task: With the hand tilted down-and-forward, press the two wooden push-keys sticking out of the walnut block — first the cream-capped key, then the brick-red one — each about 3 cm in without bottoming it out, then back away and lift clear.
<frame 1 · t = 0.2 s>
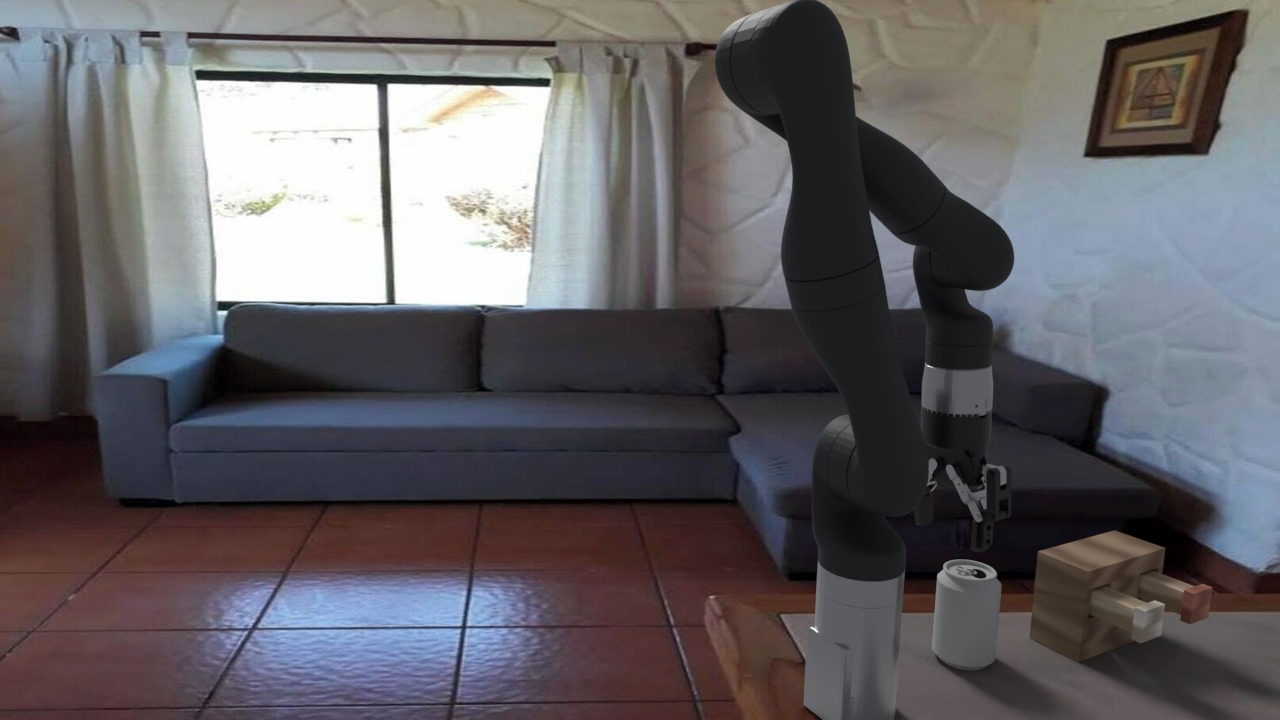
hand: (951, 536, 101), 18 cm above the table, tool pointing down, fingers open, 8 cm apart
can: (962, 659, 109), on the table
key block: (1092, 635, 115), on the table
key cream: (1115, 607, 106), point 8 cm above the table, slide at 0.0 cm
key red: (1163, 591, 111), point 7 cm above the table, slide at 0.0 cm
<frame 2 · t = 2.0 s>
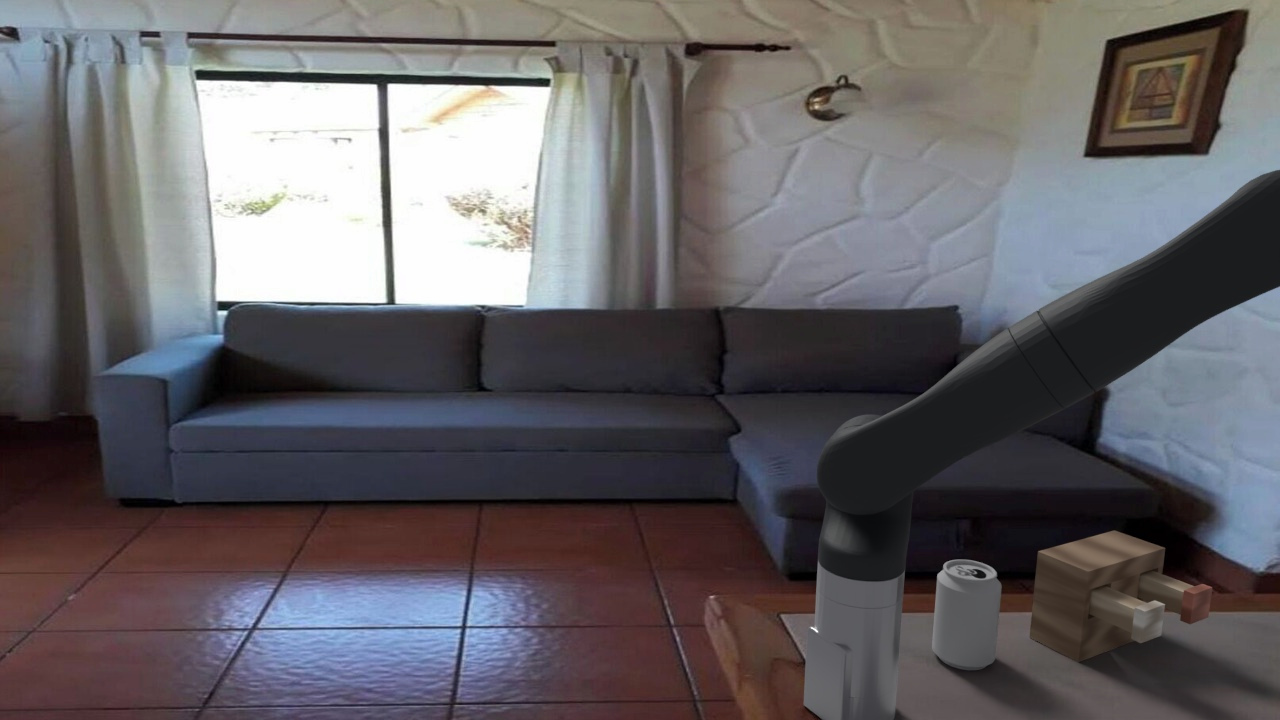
nothing on the table moved.
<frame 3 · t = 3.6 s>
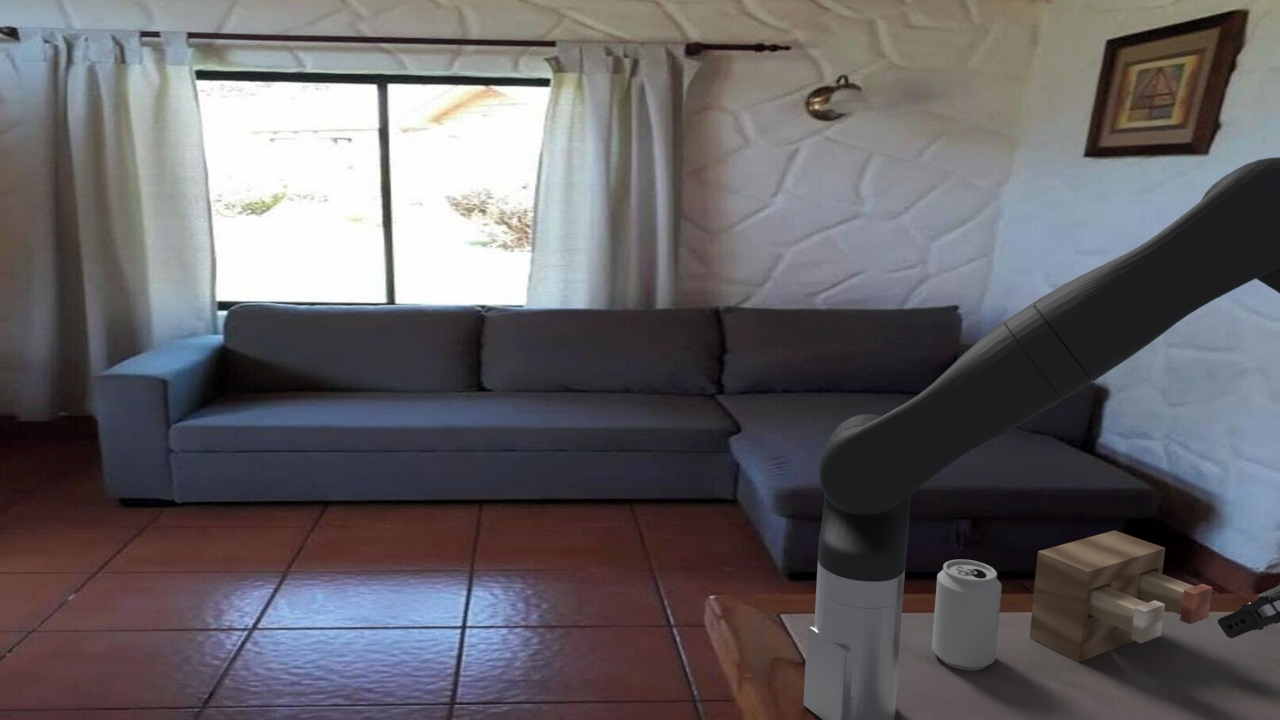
hand: (1226, 628, 95), 11 cm above the table, tool tilted 45°, fingers closed
nothing on the table moved.
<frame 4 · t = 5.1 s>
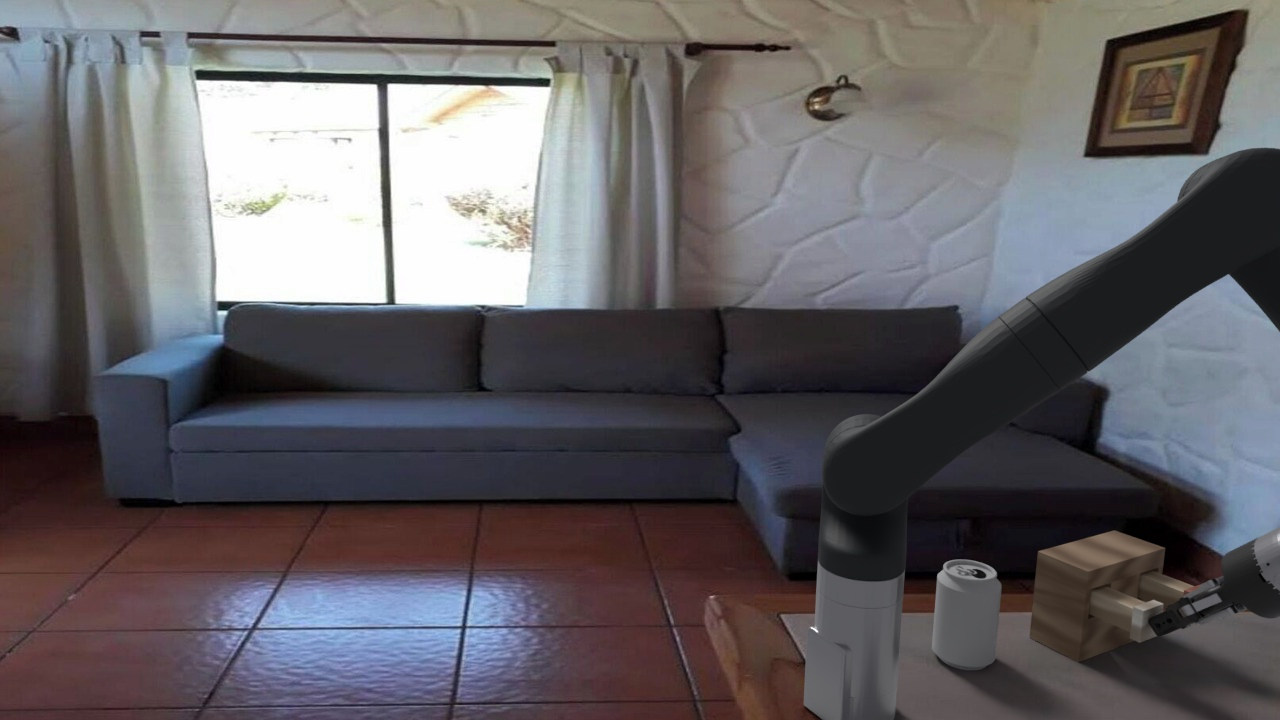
hand: (1155, 627, 102), 7 cm above the table, tool tilted 45°, fingers closed
key cream: (1114, 607, 106), point 8 cm above the table, slide at 0.2 cm, touching gripper
everything else where it was.
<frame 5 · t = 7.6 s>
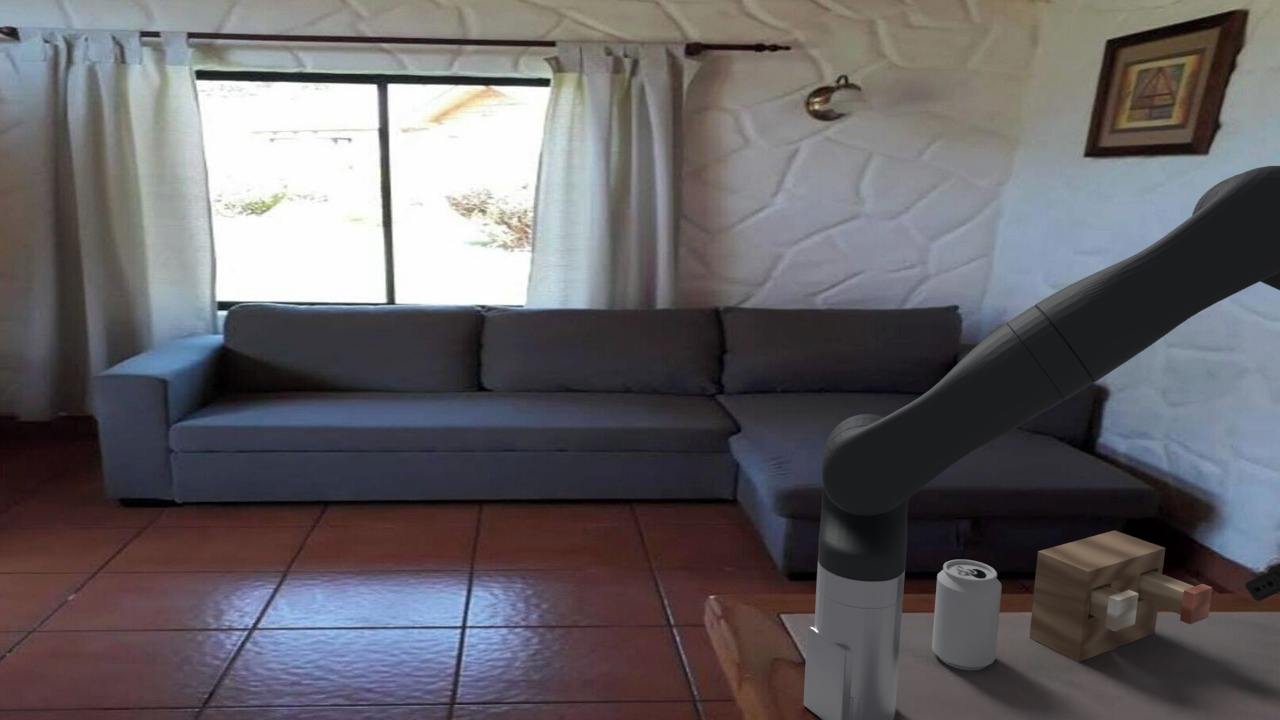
hand: (1253, 591, 97), 13 cm above the table, tool tilted 45°, fingers closed
key cream: (1091, 597, 109), point 7 cm above the table, slide at 3.2 cm
everything else where it was.
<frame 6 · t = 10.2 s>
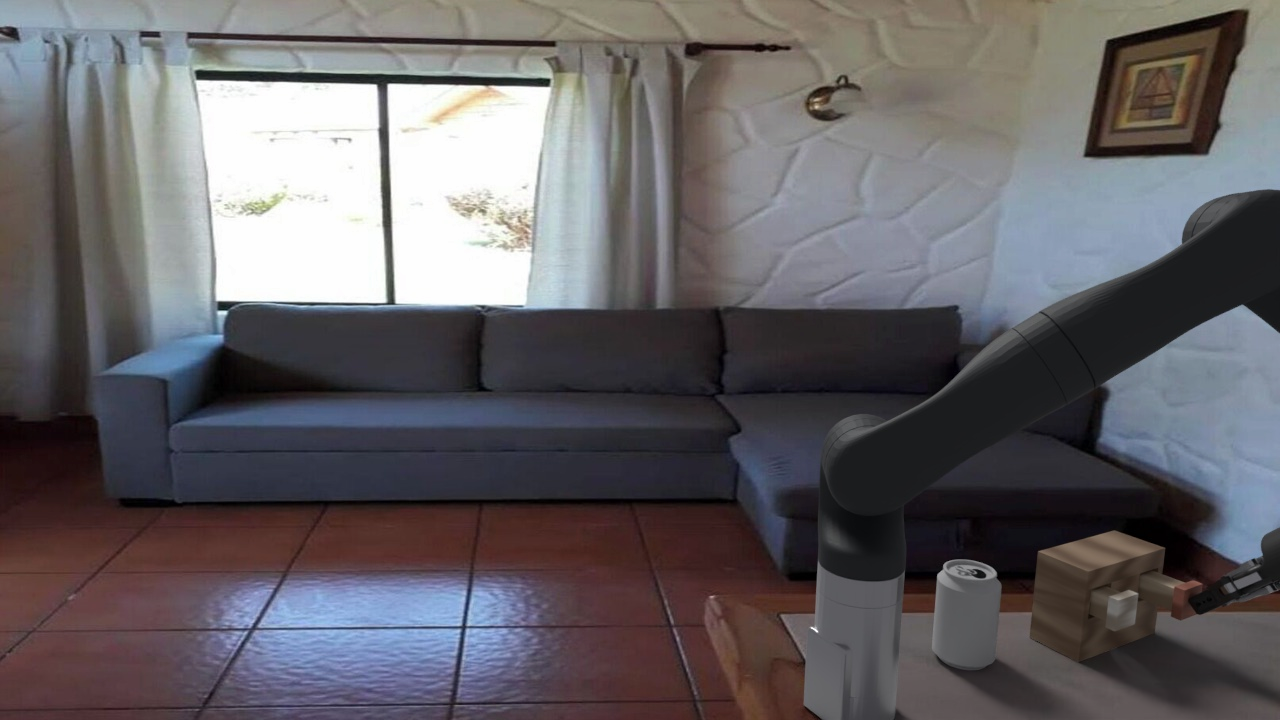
hand: (1195, 606, 107), 7 cm above the table, tool tilted 45°, fingers closed
key red: (1155, 587, 112), point 8 cm above the table, slide at 1.2 cm, touching gripper
everything else where it was.
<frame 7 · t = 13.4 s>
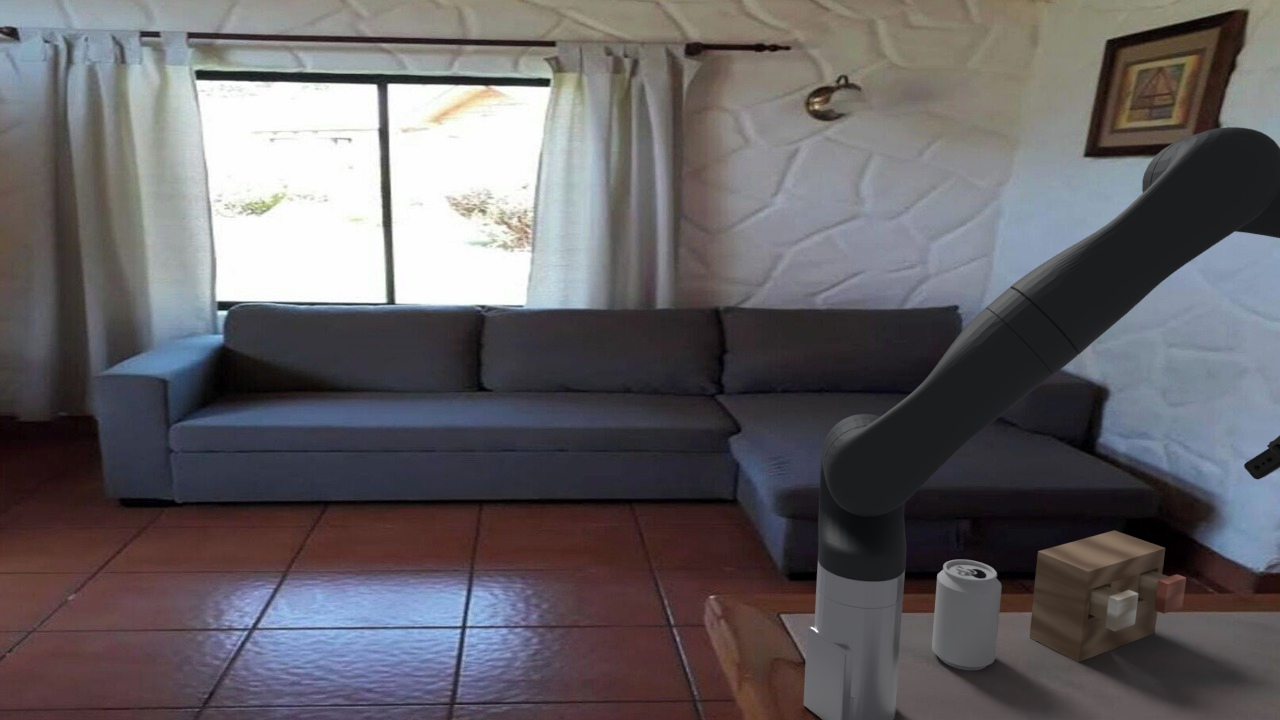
hand: (1251, 471, 101), 26 cm above the table, tool tilted 40°, fingers closed
key red: (1139, 581, 113), point 7 cm above the table, slide at 3.2 cm
everything else where it was.
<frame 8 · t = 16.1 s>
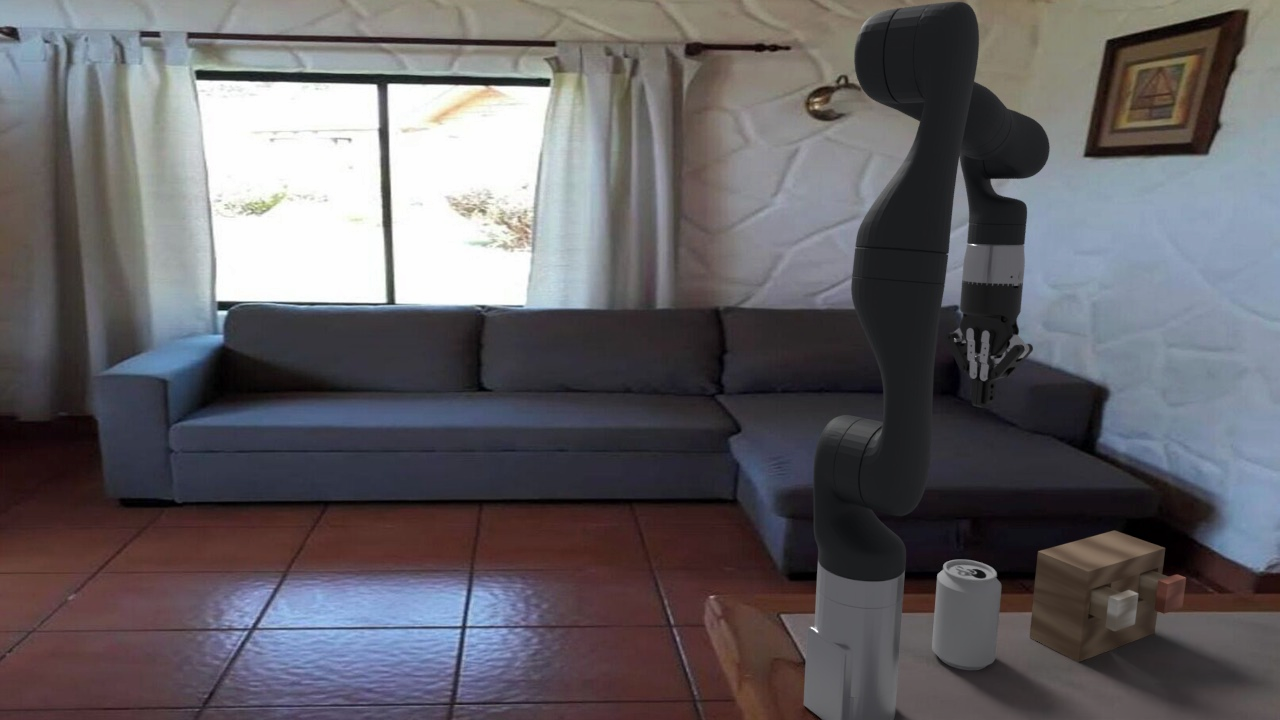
hand: (981, 406, 118), 29 cm above the table, tool pointing down, fingers closed
nothing on the table moved.
at the end: key cream slide at 3.2 cm; key red slide at 3.2 cm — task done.
